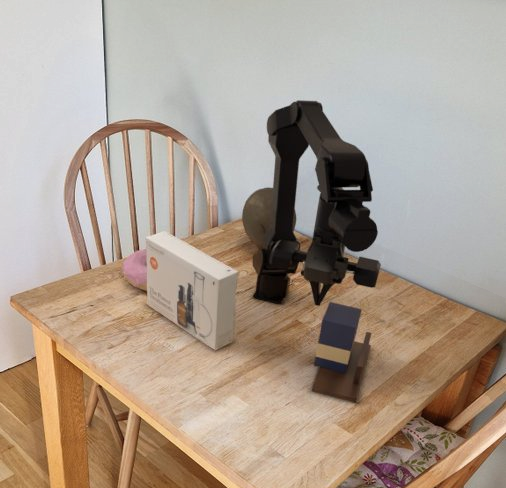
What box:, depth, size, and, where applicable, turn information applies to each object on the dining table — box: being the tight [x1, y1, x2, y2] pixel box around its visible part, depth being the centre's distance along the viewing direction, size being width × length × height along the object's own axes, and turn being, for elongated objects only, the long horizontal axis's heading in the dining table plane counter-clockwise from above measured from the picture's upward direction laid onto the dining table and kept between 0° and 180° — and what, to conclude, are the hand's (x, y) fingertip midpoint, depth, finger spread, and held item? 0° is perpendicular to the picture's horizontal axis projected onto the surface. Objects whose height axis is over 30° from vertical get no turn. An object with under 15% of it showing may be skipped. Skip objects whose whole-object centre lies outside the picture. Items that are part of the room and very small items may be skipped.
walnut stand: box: [311, 331, 372, 404], centre depth 114 cm, size 8×18×5 cm, turn 163°
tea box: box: [313, 301, 362, 373], centre depth 114 cm, size 10×7×6 cm
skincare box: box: [145, 230, 239, 351], centre depth 119 cm, size 21×5×16 cm, turn 46°
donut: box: [121, 248, 147, 292], centre depth 136 cm, size 16×15×5 cm
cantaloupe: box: [241, 186, 297, 248], centre depth 154 cm, size 14×14×15 cm
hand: (317, 304), depth 112 cm, fingers closed
